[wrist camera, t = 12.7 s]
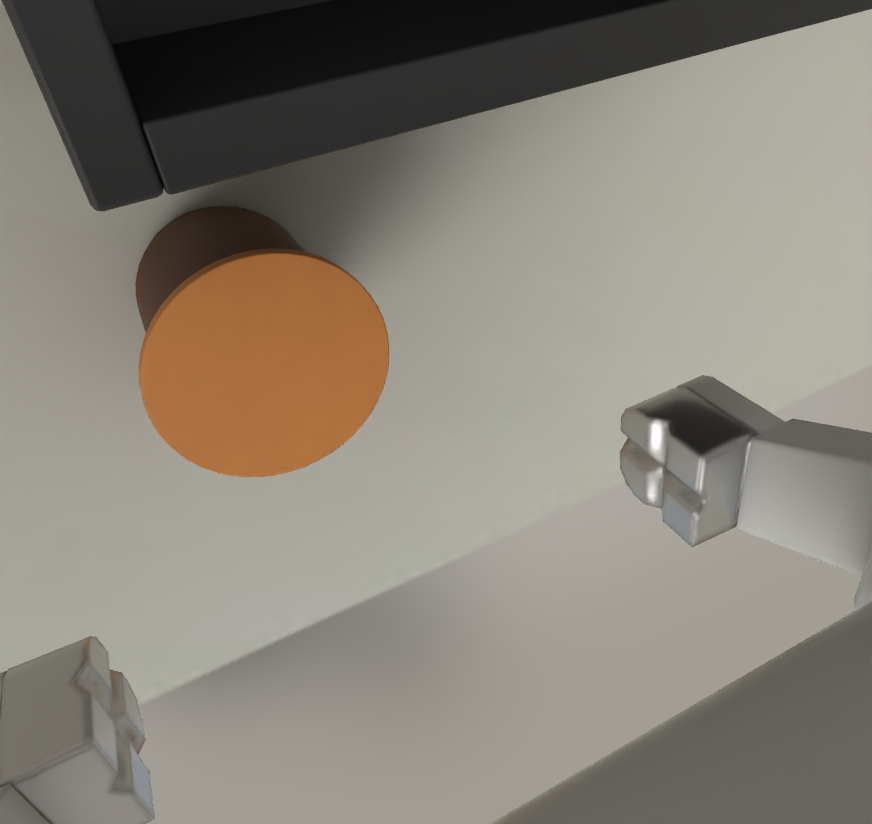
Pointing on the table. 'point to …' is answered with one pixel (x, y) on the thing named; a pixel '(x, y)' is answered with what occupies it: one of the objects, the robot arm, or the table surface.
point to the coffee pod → (254, 345)
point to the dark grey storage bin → (333, 71)
